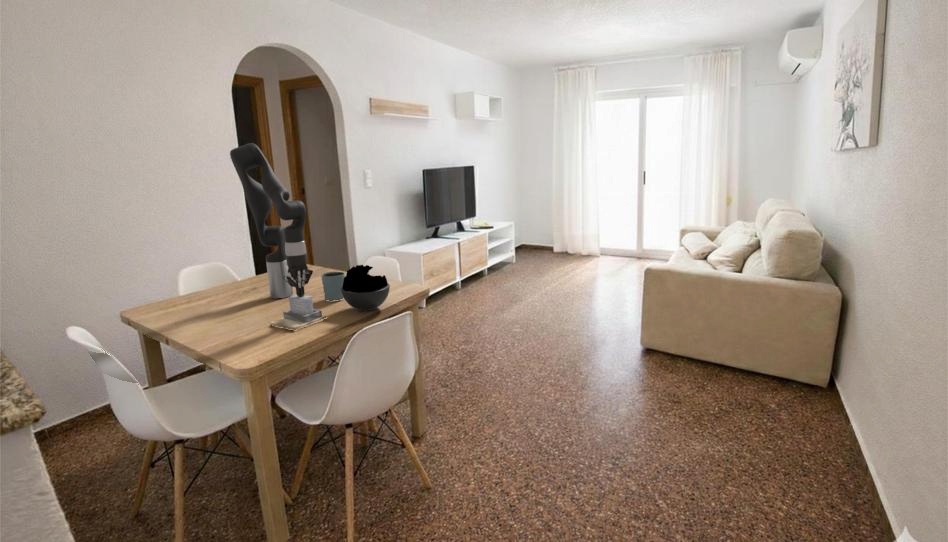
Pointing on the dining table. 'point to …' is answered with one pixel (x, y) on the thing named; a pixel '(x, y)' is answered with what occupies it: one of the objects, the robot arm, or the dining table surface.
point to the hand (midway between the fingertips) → (300, 296)
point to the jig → (297, 319)
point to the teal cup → (333, 285)
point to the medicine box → (301, 304)
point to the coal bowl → (364, 288)
